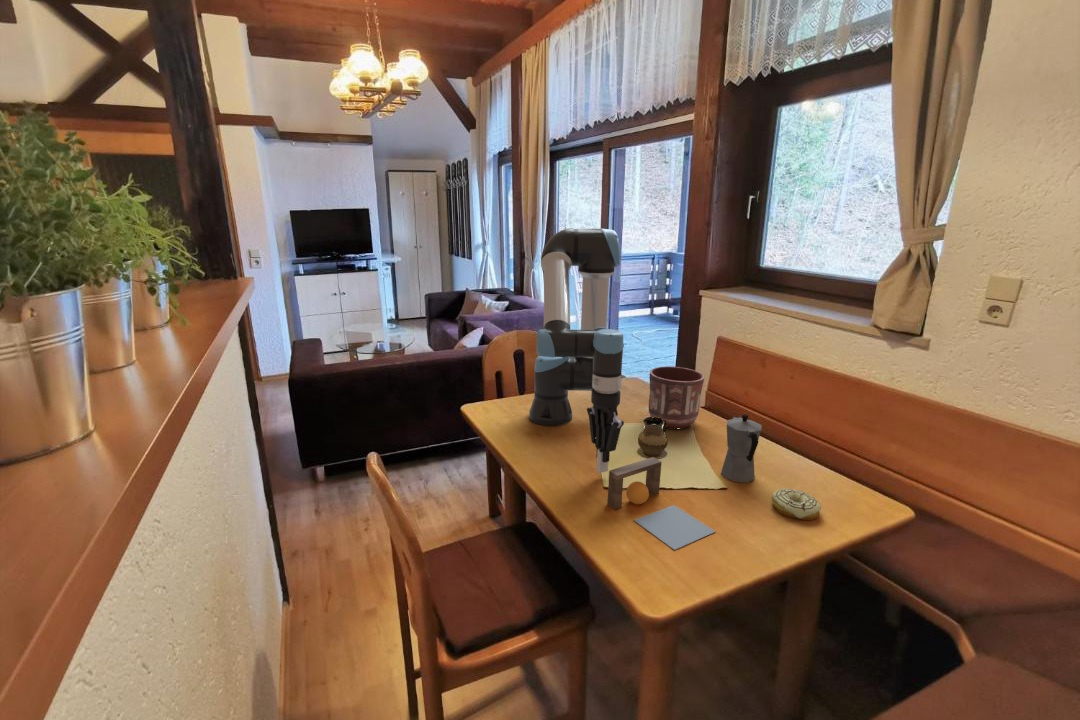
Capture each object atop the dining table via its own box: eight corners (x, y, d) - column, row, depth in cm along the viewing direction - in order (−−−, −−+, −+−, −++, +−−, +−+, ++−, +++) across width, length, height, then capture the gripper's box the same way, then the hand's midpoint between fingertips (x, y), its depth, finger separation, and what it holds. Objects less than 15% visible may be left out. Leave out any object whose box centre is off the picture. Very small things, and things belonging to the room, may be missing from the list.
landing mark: (633, 520, 123) (634, 520, 123) (673, 505, 130) (673, 504, 130) (674, 550, 113) (674, 549, 113) (715, 532, 119) (715, 531, 119)
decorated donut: (803, 528, 122) (806, 513, 121) (762, 507, 130) (764, 493, 129) (827, 514, 127) (829, 500, 126) (786, 494, 136) (788, 481, 135)
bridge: (607, 503, 130) (609, 470, 128) (650, 488, 138) (653, 457, 135) (615, 509, 128) (617, 475, 125) (658, 494, 135) (661, 461, 133)
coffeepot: (713, 463, 152) (719, 405, 147) (745, 464, 152) (753, 406, 147) (731, 490, 137) (739, 427, 132) (767, 491, 137) (776, 427, 132)
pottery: (658, 435, 171) (663, 382, 166) (638, 415, 187) (642, 367, 182) (708, 431, 174) (714, 380, 169) (683, 412, 191) (688, 365, 186)
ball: (621, 500, 132) (622, 481, 130) (637, 494, 135) (639, 475, 133) (636, 510, 127) (637, 490, 126) (652, 504, 130) (654, 484, 129)
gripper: (579, 384, 140) (577, 464, 146) (610, 399, 129) (606, 484, 136) (602, 380, 144) (598, 458, 150) (633, 394, 133) (628, 477, 139)
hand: (602, 470), depth 143 cm, fingers closed
